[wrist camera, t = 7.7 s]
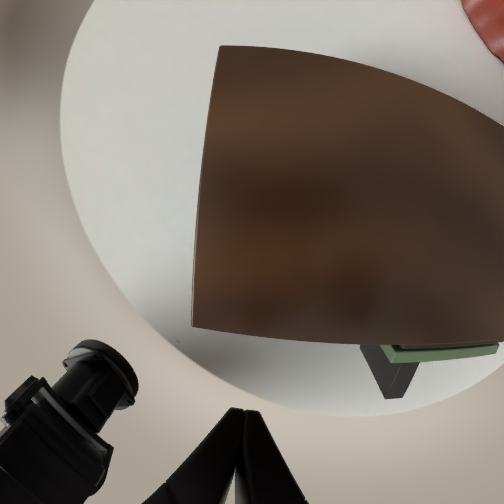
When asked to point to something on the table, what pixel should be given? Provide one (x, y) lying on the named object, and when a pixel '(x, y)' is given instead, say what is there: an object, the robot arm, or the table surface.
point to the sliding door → (411, 362)
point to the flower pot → (488, 22)
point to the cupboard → (346, 207)
